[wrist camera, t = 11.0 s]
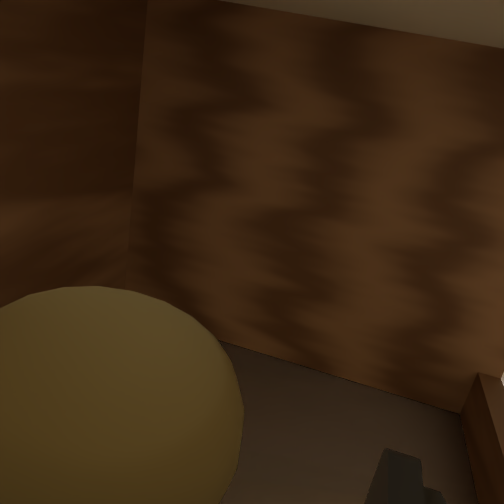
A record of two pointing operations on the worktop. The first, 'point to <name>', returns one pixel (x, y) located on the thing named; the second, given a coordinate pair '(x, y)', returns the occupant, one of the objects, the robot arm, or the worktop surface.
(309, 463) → the worktop surface
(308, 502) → the worktop surface
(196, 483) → the cork
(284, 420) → the worktop surface
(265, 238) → the wooden cabinet
